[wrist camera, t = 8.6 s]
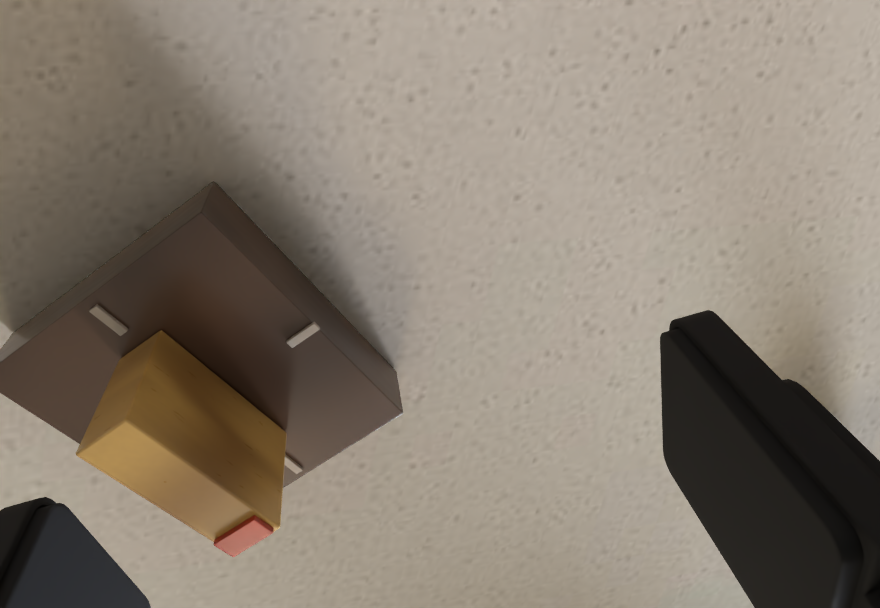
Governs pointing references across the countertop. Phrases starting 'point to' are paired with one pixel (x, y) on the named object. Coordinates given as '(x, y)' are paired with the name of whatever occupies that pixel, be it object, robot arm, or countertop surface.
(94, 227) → the countertop surface
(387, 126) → the countertop surface
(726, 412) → the robot arm
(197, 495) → the tap handle
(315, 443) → the tap deck
